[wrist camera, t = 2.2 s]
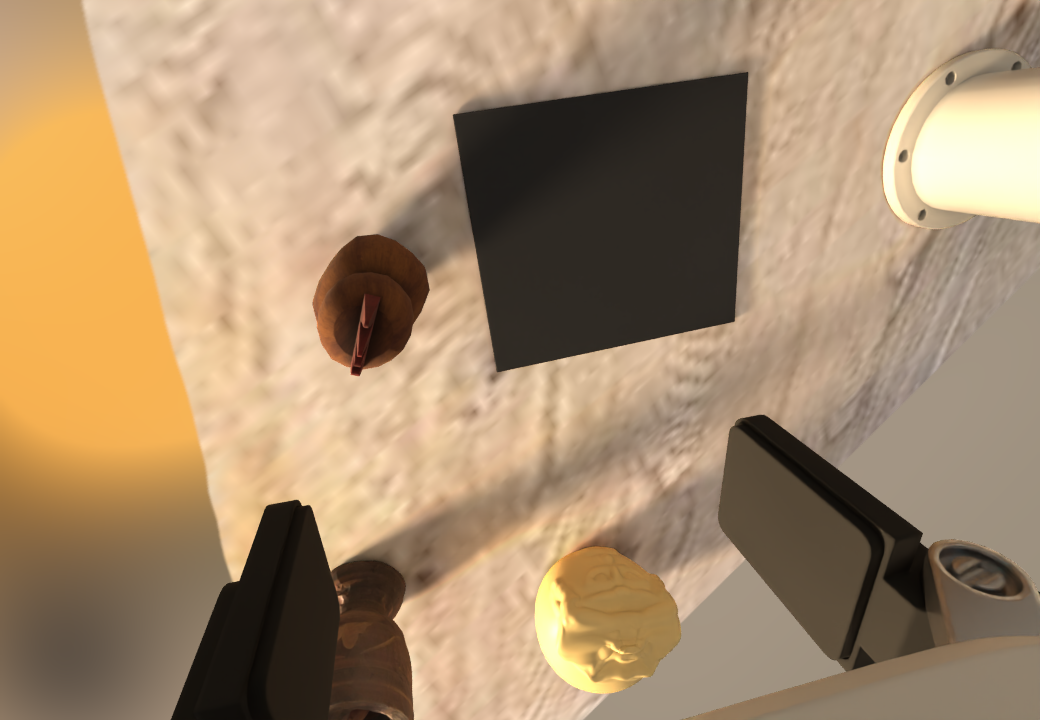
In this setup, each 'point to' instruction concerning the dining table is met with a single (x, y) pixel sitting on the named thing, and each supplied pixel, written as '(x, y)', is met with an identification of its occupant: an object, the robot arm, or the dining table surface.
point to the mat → (606, 215)
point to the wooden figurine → (369, 301)
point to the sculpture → (604, 620)
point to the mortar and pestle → (370, 646)
